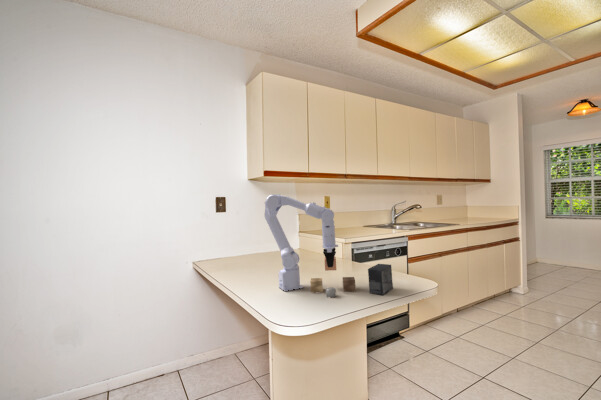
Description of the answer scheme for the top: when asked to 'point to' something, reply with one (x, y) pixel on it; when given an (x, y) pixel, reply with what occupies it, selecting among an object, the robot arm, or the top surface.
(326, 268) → the terracotta block
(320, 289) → the oak block
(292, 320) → the top surface
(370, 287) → the small box
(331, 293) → the grey tin
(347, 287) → the walnut block
